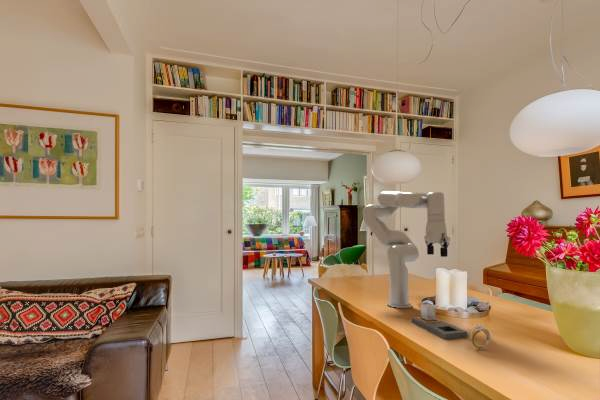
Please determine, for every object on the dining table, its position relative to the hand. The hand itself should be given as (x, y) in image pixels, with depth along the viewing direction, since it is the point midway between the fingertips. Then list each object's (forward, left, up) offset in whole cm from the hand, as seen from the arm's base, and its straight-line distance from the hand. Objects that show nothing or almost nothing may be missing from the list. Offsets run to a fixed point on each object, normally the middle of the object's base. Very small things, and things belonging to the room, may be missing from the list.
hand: (437, 255), depth 155 cm
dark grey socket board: (+14, -11, -28) cm, 33 cm away
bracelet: (+36, -10, -28) cm, 47 cm away
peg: (+8, -11, -28) cm, 31 cm away
